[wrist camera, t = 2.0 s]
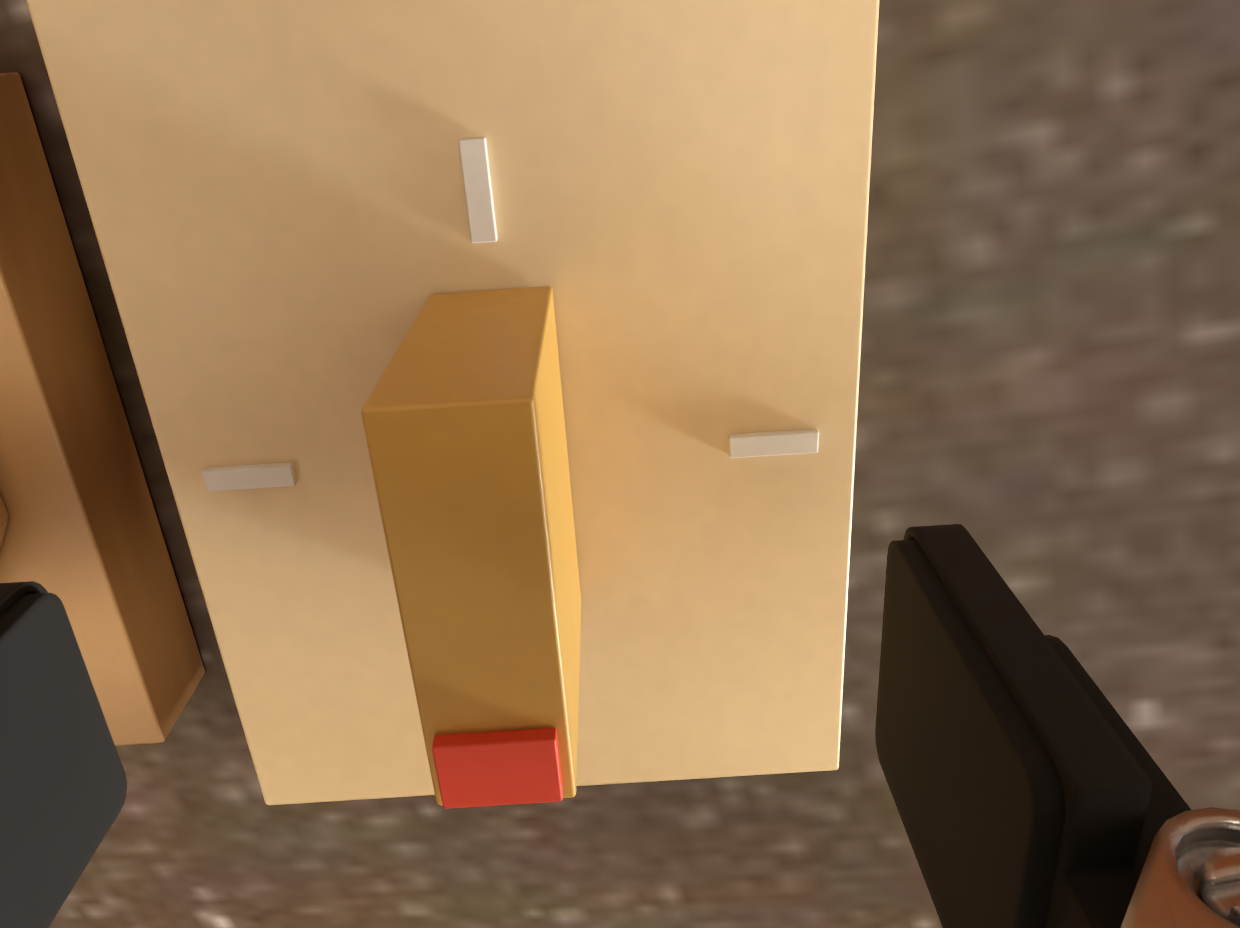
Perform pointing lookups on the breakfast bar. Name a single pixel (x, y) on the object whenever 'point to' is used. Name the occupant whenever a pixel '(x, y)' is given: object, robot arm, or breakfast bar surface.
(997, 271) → the breakfast bar surface
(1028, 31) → the breakfast bar surface
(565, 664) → the red-tipped yellow block
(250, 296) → the dial plate
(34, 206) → the wooden button base
